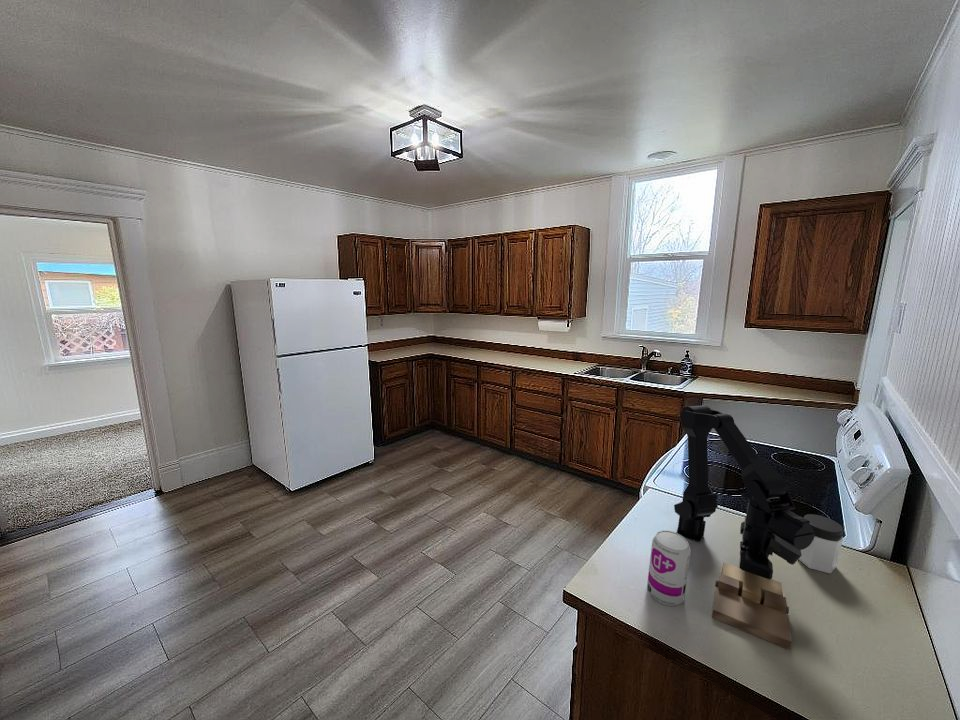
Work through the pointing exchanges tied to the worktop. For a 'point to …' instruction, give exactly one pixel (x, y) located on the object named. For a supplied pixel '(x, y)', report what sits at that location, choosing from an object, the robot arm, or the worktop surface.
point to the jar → (823, 544)
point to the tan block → (752, 583)
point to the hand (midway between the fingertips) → (750, 576)
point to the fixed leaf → (752, 612)
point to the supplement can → (668, 568)
